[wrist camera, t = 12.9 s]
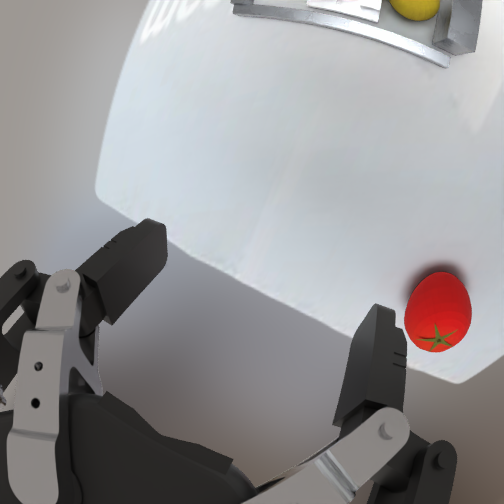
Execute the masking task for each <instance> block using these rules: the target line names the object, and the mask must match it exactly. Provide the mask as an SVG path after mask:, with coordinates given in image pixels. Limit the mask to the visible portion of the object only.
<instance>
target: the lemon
mask: <svg viewBox="0 0 504 504" xmlns="http://www.w3.org/2000/svg"><path fill="white" fill-rule="evenodd" d="M389 2H390V3H391V5H392V6H393V8H394V9H395V10H396V11H397V12H398V13H400V14H401V15H402V16H404V17H406V18H408V19H412V20H416V21H423V20H428V19H430V18H432V17H434V16H435V14H436V13H437V12H438V10H439V7H440V0H389Z"/></svg>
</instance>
